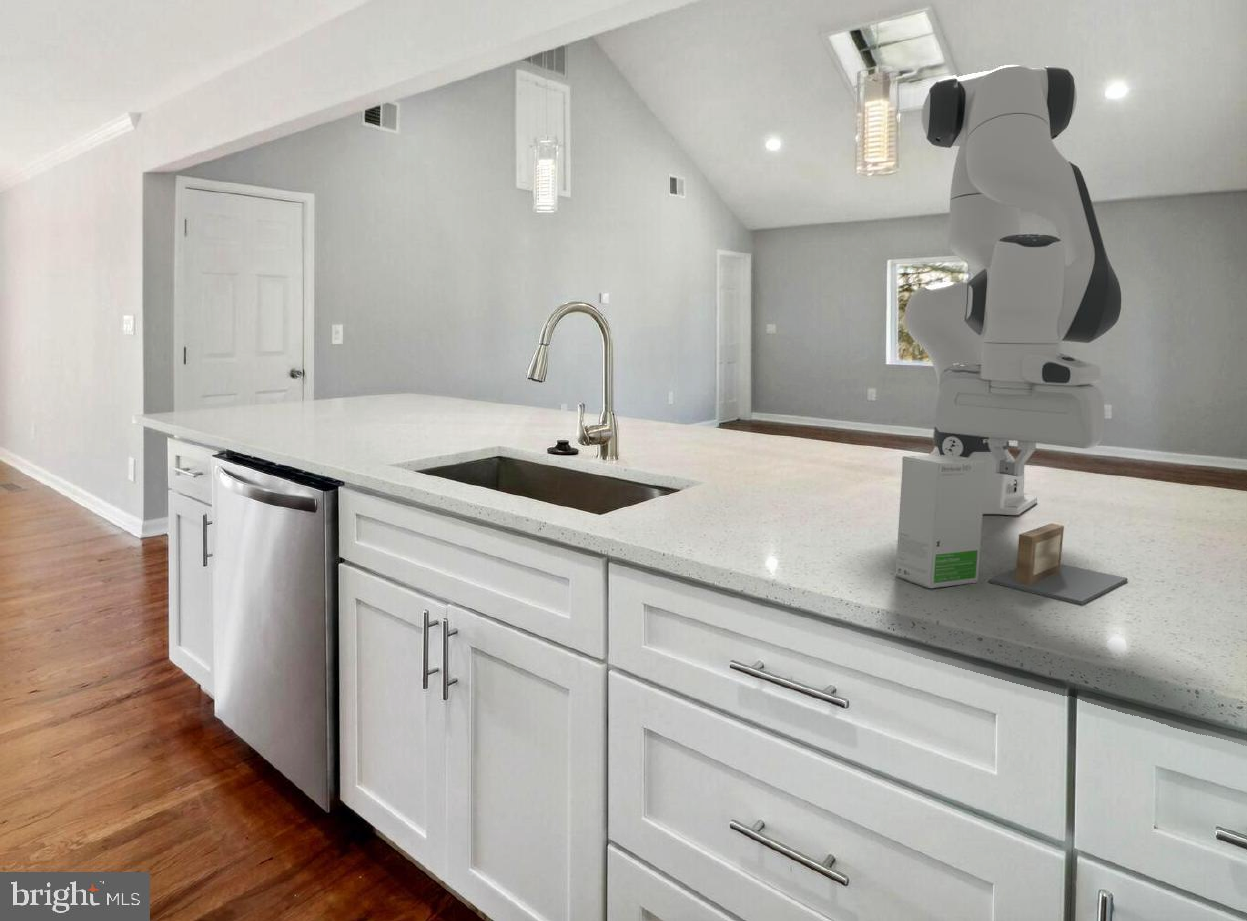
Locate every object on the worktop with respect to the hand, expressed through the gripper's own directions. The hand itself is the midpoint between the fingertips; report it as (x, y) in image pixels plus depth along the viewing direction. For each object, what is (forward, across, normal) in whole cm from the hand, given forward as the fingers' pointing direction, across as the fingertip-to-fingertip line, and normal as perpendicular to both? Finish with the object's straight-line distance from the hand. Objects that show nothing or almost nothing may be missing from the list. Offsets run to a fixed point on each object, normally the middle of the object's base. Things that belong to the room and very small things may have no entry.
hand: (1009, 474), depth 106 cm
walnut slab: (+12, +5, 0) cm, 13 cm away
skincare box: (+13, -4, -10) cm, 17 cm away
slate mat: (+13, +7, +1) cm, 14 cm away
